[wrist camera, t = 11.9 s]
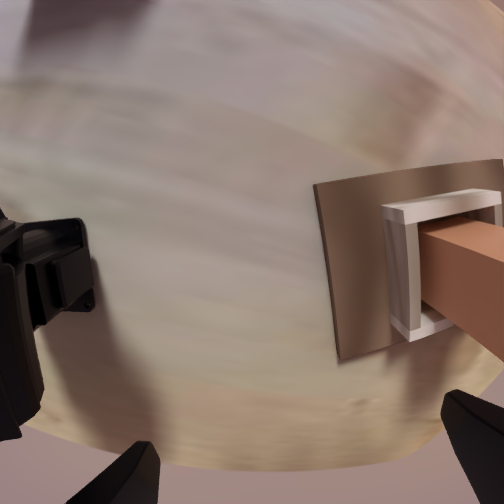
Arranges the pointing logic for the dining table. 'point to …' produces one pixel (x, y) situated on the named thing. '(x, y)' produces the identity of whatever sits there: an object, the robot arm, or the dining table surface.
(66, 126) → the dining table surface
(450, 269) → the tan box white top
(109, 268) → the dining table surface
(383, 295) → the square socket base
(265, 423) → the dining table surface
